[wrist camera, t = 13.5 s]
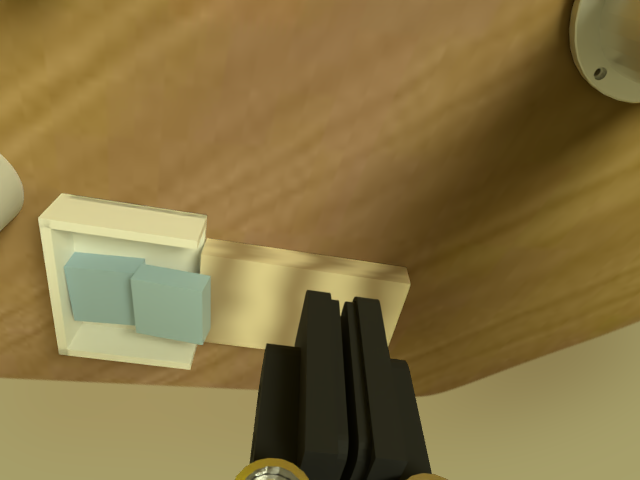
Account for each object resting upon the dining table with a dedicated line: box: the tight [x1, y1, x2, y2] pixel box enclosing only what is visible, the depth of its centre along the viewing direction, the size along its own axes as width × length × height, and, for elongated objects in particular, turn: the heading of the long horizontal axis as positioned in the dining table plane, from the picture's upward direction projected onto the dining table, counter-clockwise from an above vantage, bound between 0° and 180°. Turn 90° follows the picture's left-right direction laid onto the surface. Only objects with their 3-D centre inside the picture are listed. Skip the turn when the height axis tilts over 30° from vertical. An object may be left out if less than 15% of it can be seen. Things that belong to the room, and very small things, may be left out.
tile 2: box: [131, 264, 211, 345], centre depth 42 cm, size 6×6×2 cm
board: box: [200, 238, 411, 349], centre depth 44 cm, size 18×10×2 cm, turn 79°
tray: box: [38, 193, 207, 370], centre depth 42 cm, size 12×15×4 cm
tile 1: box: [64, 252, 146, 326], centre depth 43 cm, size 6×6×2 cm
